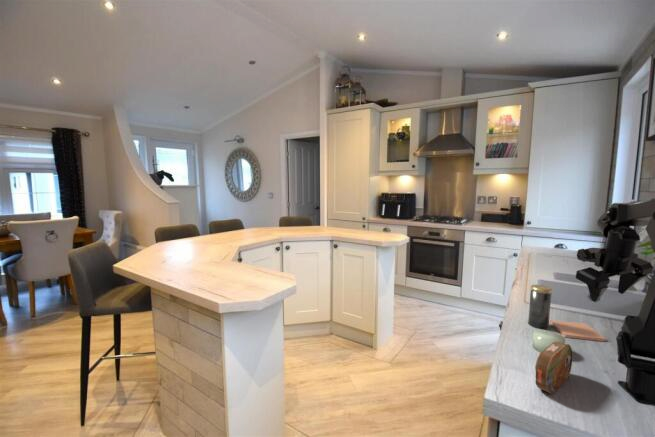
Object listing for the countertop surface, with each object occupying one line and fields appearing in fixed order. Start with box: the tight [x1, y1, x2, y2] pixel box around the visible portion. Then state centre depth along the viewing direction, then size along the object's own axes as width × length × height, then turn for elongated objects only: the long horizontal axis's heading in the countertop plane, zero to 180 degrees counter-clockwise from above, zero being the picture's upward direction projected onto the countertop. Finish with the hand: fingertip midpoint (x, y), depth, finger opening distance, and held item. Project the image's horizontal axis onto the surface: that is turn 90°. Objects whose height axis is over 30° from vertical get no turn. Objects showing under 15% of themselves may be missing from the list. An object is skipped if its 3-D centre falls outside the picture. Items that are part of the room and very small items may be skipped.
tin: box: [535, 342, 573, 395], centre depth 71 cm, size 15×3×8 cm, turn 126°
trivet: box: [549, 319, 607, 342], centre depth 96 cm, size 10×10×1 cm
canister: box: [527, 284, 553, 330], centre depth 99 cm, size 5×5×12 cm
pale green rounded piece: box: [532, 329, 566, 354], centre depth 85 cm, size 7×7×4 cm
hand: (607, 296), depth 89 cm, fingers open, 9 cm apart
